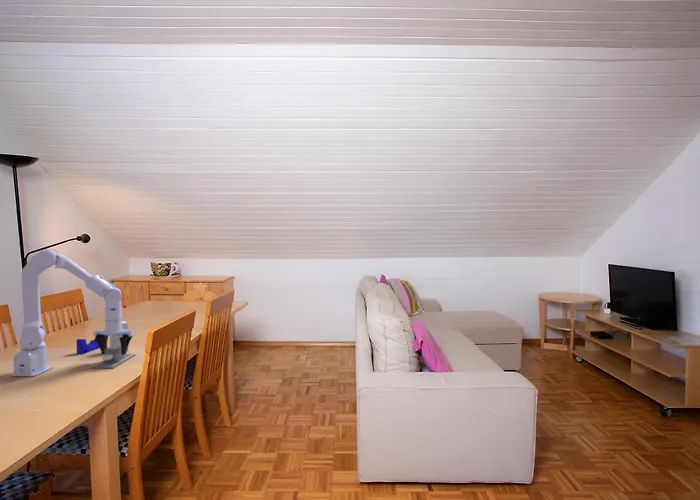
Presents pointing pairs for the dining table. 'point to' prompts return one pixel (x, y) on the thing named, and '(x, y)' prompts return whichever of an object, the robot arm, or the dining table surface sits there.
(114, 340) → the skincare box
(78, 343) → the blue notched bracket
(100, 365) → the felt mat
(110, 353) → the plug
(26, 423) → the dining table surface
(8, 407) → the dining table surface
